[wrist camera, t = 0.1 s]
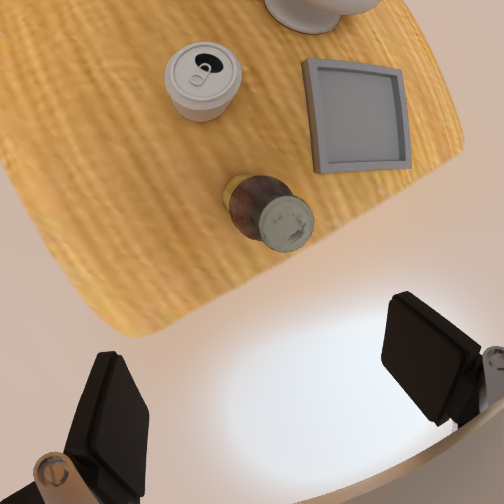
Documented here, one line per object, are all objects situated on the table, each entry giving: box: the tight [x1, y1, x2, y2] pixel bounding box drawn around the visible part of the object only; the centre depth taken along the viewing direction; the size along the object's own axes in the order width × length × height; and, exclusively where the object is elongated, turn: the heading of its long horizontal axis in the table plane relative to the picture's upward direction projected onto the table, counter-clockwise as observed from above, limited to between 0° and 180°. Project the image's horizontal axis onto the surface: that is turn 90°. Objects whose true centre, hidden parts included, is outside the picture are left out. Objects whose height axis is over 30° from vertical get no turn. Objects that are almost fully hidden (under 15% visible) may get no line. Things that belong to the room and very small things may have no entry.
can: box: [164, 42, 242, 122], centre depth 28 cm, size 8×8×12 cm
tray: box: [301, 58, 412, 173], centre depth 36 cm, size 16×16×2 cm
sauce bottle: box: [223, 174, 314, 252], centre depth 29 cm, size 7×6×20 cm
